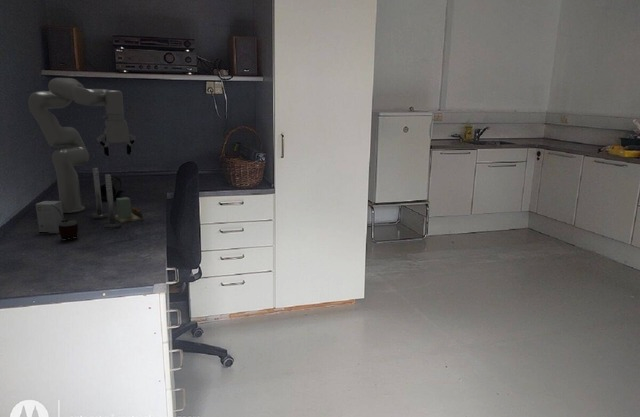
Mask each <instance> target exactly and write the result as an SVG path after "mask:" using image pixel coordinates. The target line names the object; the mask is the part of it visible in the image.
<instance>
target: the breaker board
mask: <svg viewBox="0 0 640 417" xmlns="http://www.w3.org/2000/svg"><path fill="white" fill-rule="evenodd" d="M131 212H132V217H130V218H124V219H121V218H119V217H118V214H115V221H117V222H121V224H123V223H129V222H135V221H143V220H144V218H143V214H142V211H141V210H139V209H137V208H136V207H132V209H131Z"/></svg>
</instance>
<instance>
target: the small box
mask: <svg viewBox="0 0 640 417" xmlns="http://www.w3.org/2000/svg"><path fill="white" fill-rule="evenodd" d="M51 204H52V205H54V206H56V207H57V208H58V209H59V210H60V212H61V214H62V216H63V218H64V213H63V210H62V202H61V201H60V200H43V201H40V202H38V203H35V210H36V218H37V224H38V231H39V232H49V233H48V234H59V233H60V232H59V223H60V222H61V221H62V220H63V219H62V217H61V215H60V213H59V212H58V210H57V209H56V208H55V207H54V206H52V205H51ZM64 219H65V218H64ZM58 232H59V233H58Z"/></svg>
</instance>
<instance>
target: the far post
mask: <svg viewBox="0 0 640 417" xmlns="http://www.w3.org/2000/svg"><path fill="white" fill-rule="evenodd" d="M99 175H100V172H99V167H92V177H93V185H94V186H93V187H94V195H95V203H96V205H95V206H96V212H94V213H93V214H92V215H91V217H92V219H93V220H103V219H108V218H109V212H105V211H104V212H103V205H102V204H103V203H102V202H103V201H102V198H101V192H100V186H101V184H100V176H99Z"/></svg>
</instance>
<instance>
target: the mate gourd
mask: <svg viewBox="0 0 640 417" xmlns="http://www.w3.org/2000/svg"><path fill="white" fill-rule="evenodd" d="M51 205H52V204H51ZM52 206H54V205H52ZM54 207H55V208H56V209H57V210H58V212H59V213H60V215H61V217H62V219H63V220H62V221H61V222H60V223H59V235H60V238H61V240H62V239H68V238H70V239H73V237H78V233H79V231H78V230H79V225H78V222H77V221H76V220H75V219H72V218H69V219H68V218H67V219H65V218H63V217H64V215H63V216H62V214H61V212H60V210H59V209H58V208H57V207H56V206H54ZM73 240H74V239H73Z"/></svg>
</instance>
